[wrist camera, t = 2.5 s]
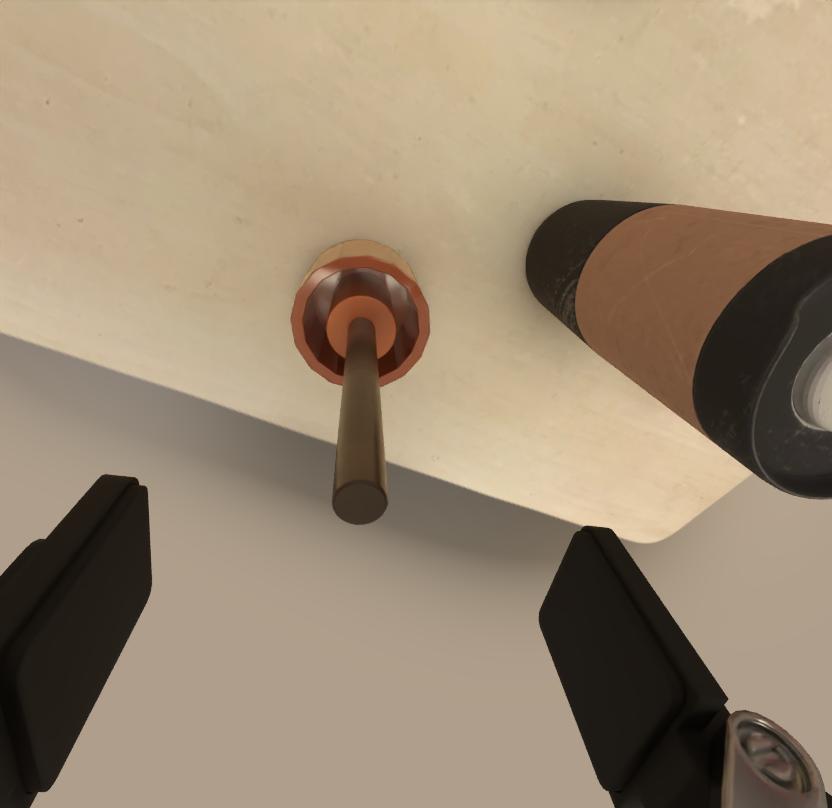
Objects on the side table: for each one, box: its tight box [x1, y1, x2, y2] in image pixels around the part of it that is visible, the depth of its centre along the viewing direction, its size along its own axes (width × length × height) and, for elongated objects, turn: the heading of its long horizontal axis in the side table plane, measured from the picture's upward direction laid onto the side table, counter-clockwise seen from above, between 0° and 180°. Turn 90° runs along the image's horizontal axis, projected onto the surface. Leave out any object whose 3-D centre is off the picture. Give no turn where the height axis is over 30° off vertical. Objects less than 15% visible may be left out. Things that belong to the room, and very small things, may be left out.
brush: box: [326, 272, 396, 525], centre depth 20 cm, size 4×4×20 cm
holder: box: [291, 240, 430, 387], centre depth 27 cm, size 7×7×6 cm
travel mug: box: [526, 200, 832, 499], centre depth 21 cm, size 8×8×20 cm
